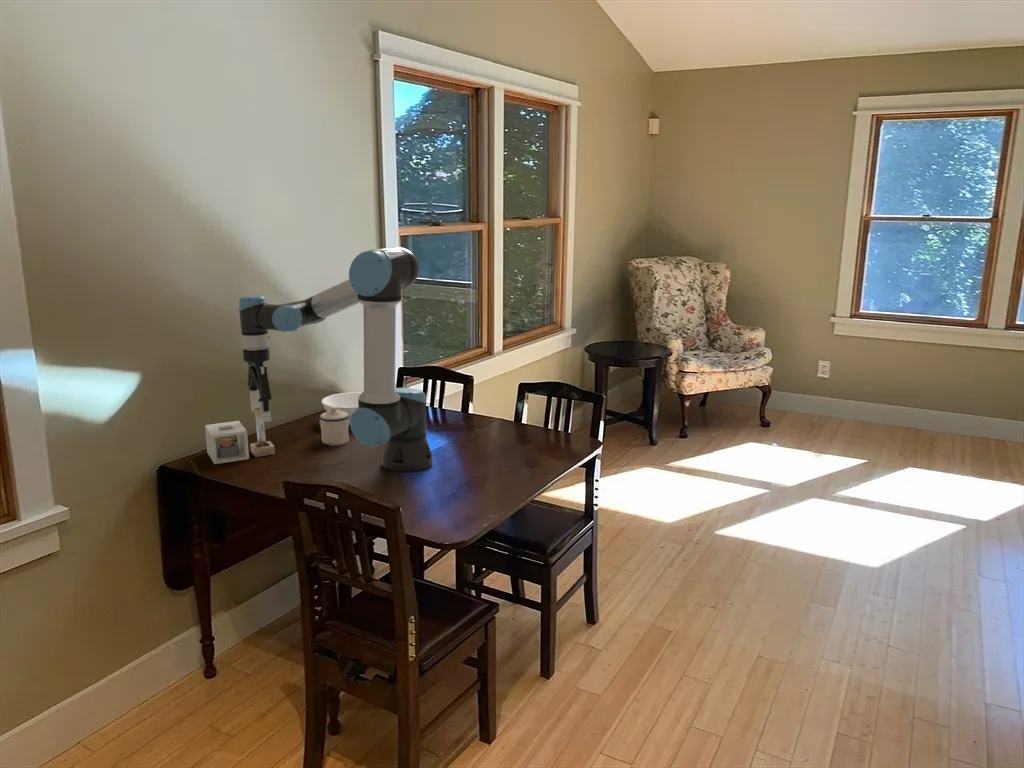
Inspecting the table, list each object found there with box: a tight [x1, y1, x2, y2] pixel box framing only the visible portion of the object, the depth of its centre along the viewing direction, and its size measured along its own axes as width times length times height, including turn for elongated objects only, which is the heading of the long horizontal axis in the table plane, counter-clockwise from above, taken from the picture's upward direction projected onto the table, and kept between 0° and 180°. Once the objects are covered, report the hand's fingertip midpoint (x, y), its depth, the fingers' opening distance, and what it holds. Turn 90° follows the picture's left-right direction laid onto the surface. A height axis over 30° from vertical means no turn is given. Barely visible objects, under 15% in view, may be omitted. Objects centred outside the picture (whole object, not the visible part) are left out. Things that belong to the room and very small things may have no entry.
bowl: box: [321, 391, 362, 426], centre depth 278 cm, size 21×21×8 cm
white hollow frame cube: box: [204, 420, 250, 465], centre depth 240 cm, size 12×10×9 cm
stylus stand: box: [250, 440, 276, 458], centre depth 244 cm, size 6×6×3 cm
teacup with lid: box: [319, 407, 350, 447], centre depth 256 cm, size 12×9×12 cm
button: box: [221, 437, 233, 448], centre depth 240 cm, size 3×3×4 cm
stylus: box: [253, 408, 267, 448], centre depth 242 cm, size 2×2×14 cm
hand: (261, 416), depth 241 cm, fingers open, 13 cm apart
